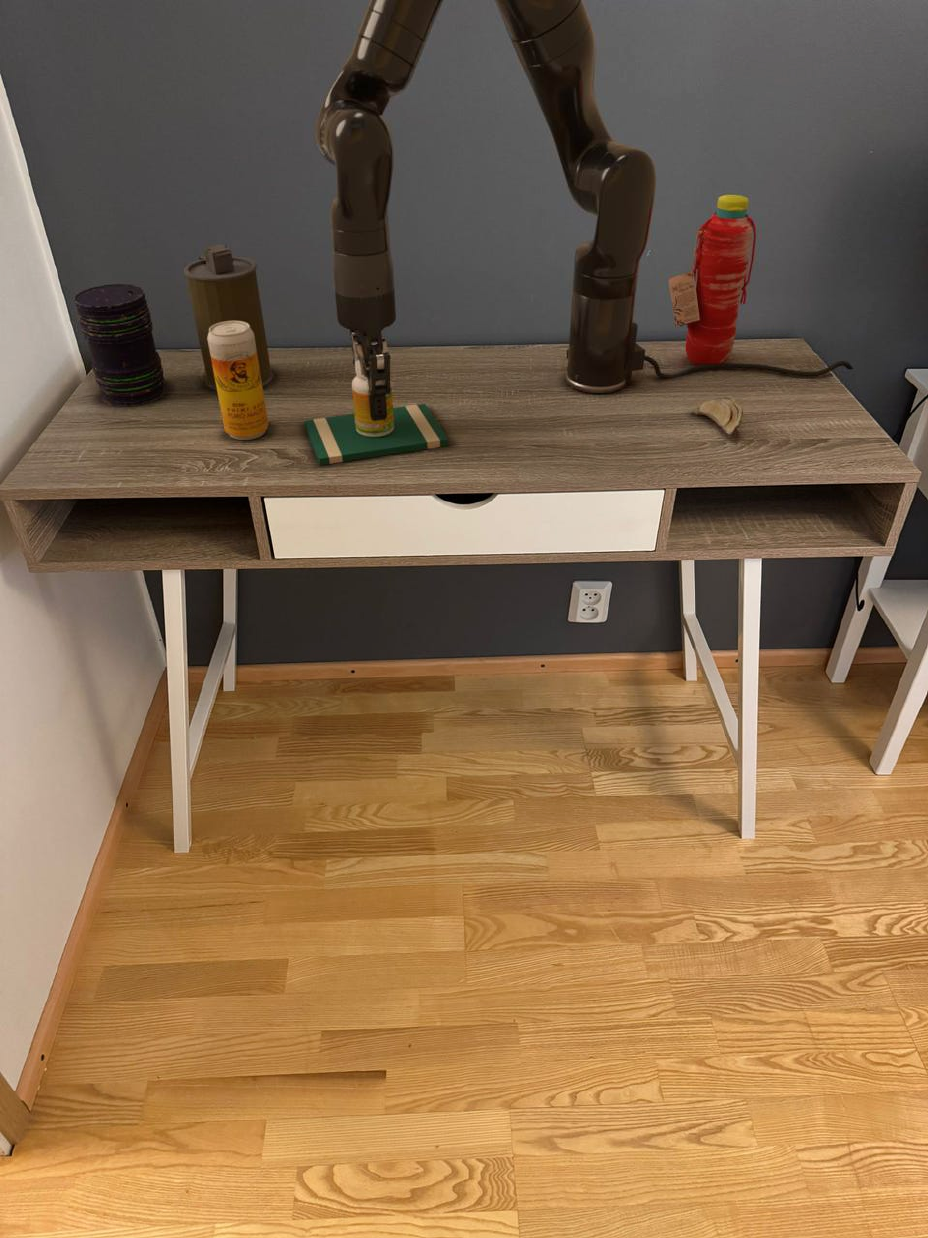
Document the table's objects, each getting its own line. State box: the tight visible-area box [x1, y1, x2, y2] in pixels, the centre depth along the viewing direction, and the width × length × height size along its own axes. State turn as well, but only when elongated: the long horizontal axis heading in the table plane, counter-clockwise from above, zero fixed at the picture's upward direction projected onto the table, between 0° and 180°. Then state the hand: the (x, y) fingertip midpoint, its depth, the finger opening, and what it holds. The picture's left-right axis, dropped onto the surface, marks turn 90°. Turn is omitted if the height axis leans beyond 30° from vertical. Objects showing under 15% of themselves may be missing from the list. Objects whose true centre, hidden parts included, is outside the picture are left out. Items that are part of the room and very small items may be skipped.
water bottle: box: [668, 194, 757, 366], centre depth 136 cm, size 12×8×25 cm, turn 91°
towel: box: [303, 403, 450, 466], centre depth 124 cm, size 18×12×1 cm, turn 108°
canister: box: [183, 243, 274, 392], centre depth 134 cm, size 11×10×20 cm
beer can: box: [207, 321, 269, 441], centre depth 121 cm, size 6×6×15 cm
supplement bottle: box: [351, 360, 394, 437], centre depth 120 cm, size 5×5×10 cm
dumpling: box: [694, 397, 744, 438], centre depth 125 cm, size 6×4×10 cm
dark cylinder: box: [73, 283, 167, 407], centre depth 131 cm, size 10×10×15 cm
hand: (373, 409), depth 122 cm, fingers closed on supplement bottle, 5 cm apart
